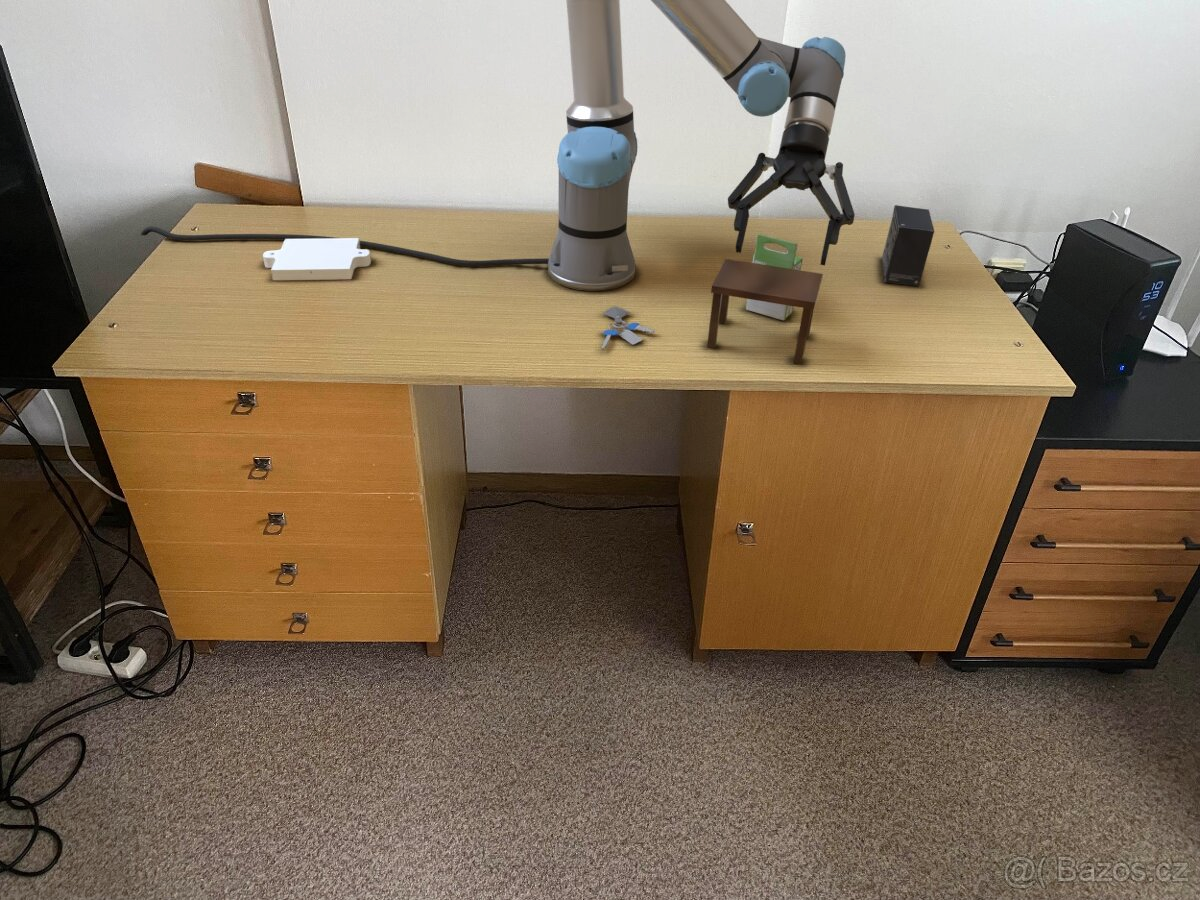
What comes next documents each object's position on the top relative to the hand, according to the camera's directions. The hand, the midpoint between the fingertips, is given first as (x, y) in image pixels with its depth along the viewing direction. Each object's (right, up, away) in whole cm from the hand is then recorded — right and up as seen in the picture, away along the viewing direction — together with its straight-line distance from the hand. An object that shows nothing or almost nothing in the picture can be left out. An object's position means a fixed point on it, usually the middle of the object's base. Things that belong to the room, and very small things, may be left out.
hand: (780, 256), depth 141 cm
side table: (-4, -14, -4) cm, 15 cm away
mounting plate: (-78, +1, +14) cm, 80 cm away
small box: (+25, +1, +18) cm, 31 cm away
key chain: (-24, -12, -3) cm, 28 cm away
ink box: (-1, -9, +4) cm, 9 cm away
